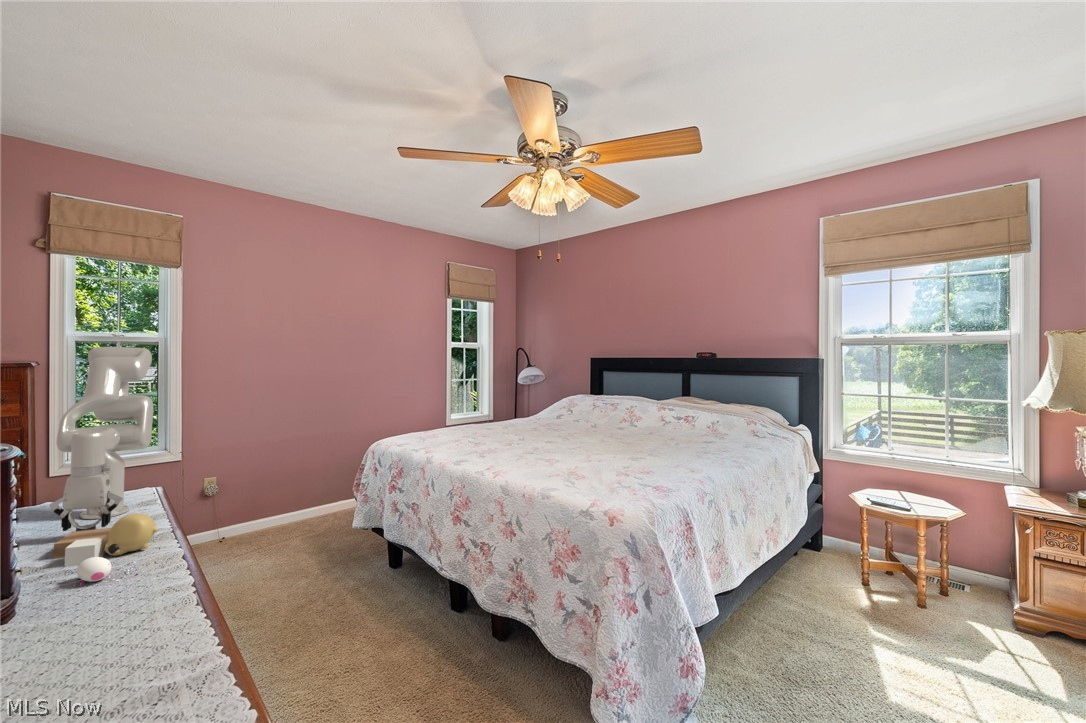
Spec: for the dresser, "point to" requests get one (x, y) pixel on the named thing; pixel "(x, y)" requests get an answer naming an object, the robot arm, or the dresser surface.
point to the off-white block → (83, 550)
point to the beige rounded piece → (130, 534)
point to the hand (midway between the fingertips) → (86, 527)
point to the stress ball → (94, 569)
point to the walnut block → (78, 535)
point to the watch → (85, 527)
